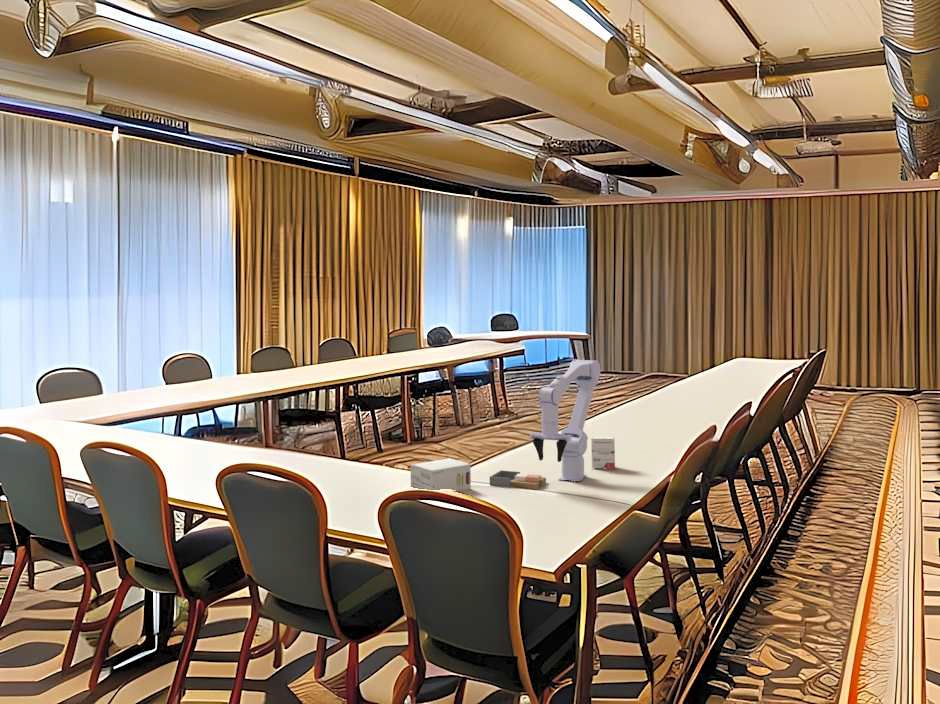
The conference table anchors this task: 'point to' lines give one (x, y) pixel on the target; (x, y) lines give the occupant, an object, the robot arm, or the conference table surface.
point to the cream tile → (521, 477)
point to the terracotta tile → (534, 478)
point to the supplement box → (441, 475)
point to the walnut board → (527, 484)
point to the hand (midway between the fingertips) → (550, 460)
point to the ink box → (603, 452)
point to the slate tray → (503, 478)
